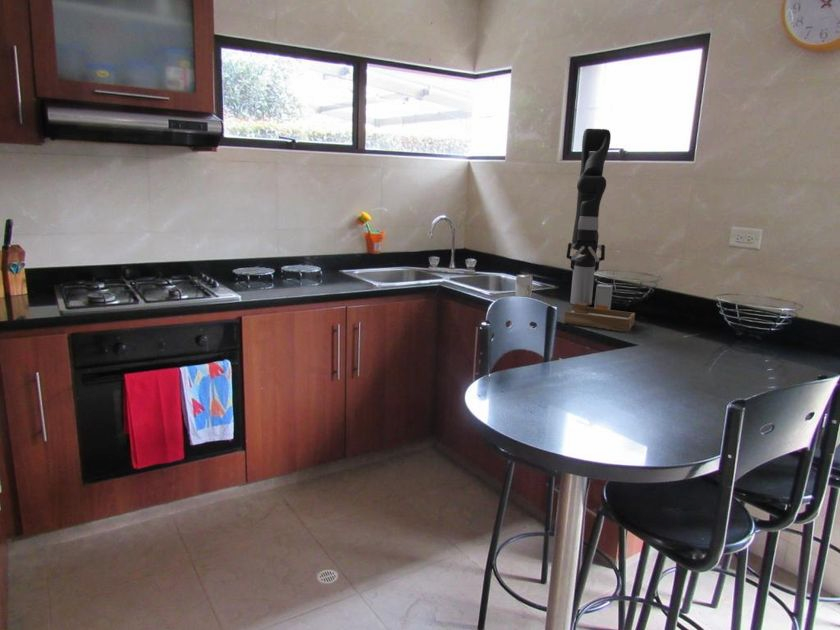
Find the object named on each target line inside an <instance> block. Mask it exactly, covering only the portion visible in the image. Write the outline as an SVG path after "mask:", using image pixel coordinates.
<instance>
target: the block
mask: <svg viewBox="0 0 840 630" xmlns="http://www.w3.org/2000/svg"><path fill="white" fill-rule="evenodd" d="M574 306H575V307H574V313H581V314H587V312H588V307H589V305H588V303H580V302H576V303H575V305H574Z"/></svg>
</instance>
